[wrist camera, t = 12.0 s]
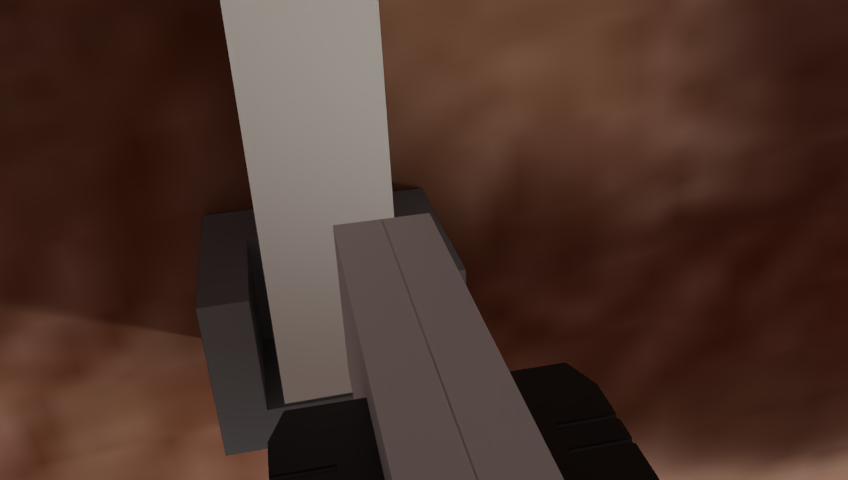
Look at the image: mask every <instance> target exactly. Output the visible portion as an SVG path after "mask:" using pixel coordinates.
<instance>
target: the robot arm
mask: <svg viewBox="0 0 848 480" xmlns="http://www.w3.org/2000/svg"><path fill="white" fill-rule="evenodd" d="M333 232H334V241H335V251H336V260H337V269H338V279H339V288H340V297H341V306H342V316H343V325H344V334H345V343H346V353H347V362H348V371H349V377H350V382H351V387H352V392H353V397H354V400H348V401H341V402H335V403H329V404H323V405H317V406H311V407H304V408H298V409H292V410H286V411H284V412H283V414H282V416H281V417H280V419H279V421H278V423H277V425H276V427H275V429H274V431H273V433H272V435H271V437H270V439H269V440H268V466H269V480H659V478H658V477H657V475H656V473H655V472H654V470H653V469H652V467H651V466H650V464H649V463H648V461H647V460H646V458H645V457H644V455H643V454H642V452H641V451H640V449H639V448H638V446H637V445H636V443H633V442H632V437H631V435H630V434H629V432H628V431H627V429H626V428H625V426H624V425H623V423H622V422H621V420H620V419H617V418H616V412H615V411H614V409H613V408H612V406H611V405H610V403H609V402H608V400H607V399H606V397H605V396H604V394H603V393H602V391H601V390H600V388H599V387H598V385H597V384H596V383H594V382H593V381H591V380H590V379H589V378H587V377H586V376H584V375H583V374H581V373H580V372H578V371H577V370H576V369H574V368H573V367H571V366H570V365H568V364H567V363H560V364H554V365H548V366H541V367H535V368H529V369H523V370H516V371H510V372H509V370H508V368H507V366H506V364H505V362H504V360H503V358H502V356H501V354H500V352H499V350H498V348H497V346H496V344H495V342H494V340H493V338H492V336H491V334H490V332H489V330H488V328H487V326H486V324H485V322H484V320H483V318H482V316H481V314H480V312H479V310H478V308H477V306H476V304H475V302H474V300H473V298H472V296H471V294H470V292H469V290H468V288H467V286H466V284H465V282H464V280H463V279H462V277H461V275H460V273H459V271H458V269H457V267H456V265H455V263H454V261H453V259H452V257H451V255H450V253H449V251H448V249H447V247H446V245H445V243H444V241H443V239H442V237H441V235H440V233H439V231H438V229H437V227H436V225H435V223H434V221H433V219H432V217H431V215H430V213H425V214H417V215H410V216H402V217H394V218H386V219H378V220H370V221H362V222H354V223H346V224H339V225H333Z"/></svg>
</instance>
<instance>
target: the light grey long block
mask: <svg viewBox="0 0 848 480" xmlns="http://www.w3.org/2000/svg"><path fill="white" fill-rule="evenodd" d="M220 4H221V10H222V16H223V23H224V29H225V35H226V41H227V48H228V54H229V60H230V66H231V72H232V79H233V85H234V91H235V97H236V103H237V110H238V116H239V122H240V128H241V134H242V141H243V147H244V153H245V159H246V165H247V172H248V178H249V184H250V190H251V196H252V203H253V209H254V215H255V221H256V228H257V234H258V240H259V246H260V252H261V259H262V265H263V271H264V277H265V283H266V290H267V296H268V302H269V308H270V314H271V321H272V327H273V333H274V339H275V345H276V352H277V358H278V364H279V370H280V377H281V383H282V389H283V395H284V401H285V404H287V403H293V402H299V401H305V400H311V399H317V398H322V397H328V396H334V395H340V394H346V393H352V387H351V382H350V377H349V371H348V362H347V353H346V343H345V334H344V325H343V316H342V306H341V297H340V288H339V279H338V269H337V260H336V251H335V241H334V232H333V225H339V224H346V223H354V222H362V221H370V220H378V219H386V218H394V208H393V194H392V180H391V167H390V153H389V139H388V126H387V112H386V98H385V85H384V71H383V57H382V43H381V30H380V16H379V2H378V0H220Z"/></svg>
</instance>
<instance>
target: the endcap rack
mask: <svg viewBox="0 0 848 480" xmlns="http://www.w3.org/2000/svg"><path fill="white" fill-rule="evenodd" d="M392 194H393V208H394V217H402V216H410V215H417V214H425V213H430V215H431V217H432V219H433V221H434V223H435V225H436V227H437V229H438V231H439V233H440V235H441V237H442V239H443V241H444V243H445V245H446V247H447V249H448V251H449V253H450V255H451V257H452V259H453V261H454V263H455V265H456V267H457V269H458V271H459V273H460V275H461V277H462V279H463V280H464V282H465V284H466V269H465V267H464V265H463V263H462V262H461V260H460V258H459V256H458V254H457V252H456V251H455V249H454V247H453V245H452V243H451V241H450V239H449V238H448V236H447V234H446V232H445V230H444V228H443V227H442V225H441V223H440V221H439V219H438V217H437V216H436V214H435V212H434V210H433V208H432V206H431V205H430V203H429V201H428V199H427V197H426V195H425V193H424V192H423V190H422V188H417V189H409V190H401V191H393V192H392ZM196 313H197V317H198V322H199V327H200V332H201V337H202V342H203V347H204V352H205V356H206V361H207V366H208V371H209V376H210V381H211V386H212V391H213V395H214V400H215V405H216V410H217V415H218V420H219V425H220V430H221V434H222V439H223V444H224V449H225V454H226V456H227V455H232V454H238V453H244V452H249V451H255V450H261V449H267V448H268V440H269V439H270V437H271V435H272V433H273V431H274V429H275V427H276V425H277V423H278V421H279V419H280V417H281V416H282V414H283V412H284V411H286V410H292V409H298V408H304V407H311V406H317V405H323V404H329V403H335V402H341V401H348V400H354V397H353V392H352V393H346V394H340V395H334V396H328V397H322V398H317V399H311V400H305V401H299V402H293V403H287V404H285V401H284V395H283V389H282V383H281V377H280V370H279V364H278V358H277V352H276V345H275V339H274V333H273V327H272V321H271V314H270V308H269V302H268V296H267V290H266V283H265V277H264V271H263V265H262V259H261V252H260V246H259V240H258V234H257V228H256V221H255V215H254V209H251V210H243V211H235V212H227V213H219V214H211V215H203V221H202V234H201V247H200V260H199V273H198V286H197V298H196Z"/></svg>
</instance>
